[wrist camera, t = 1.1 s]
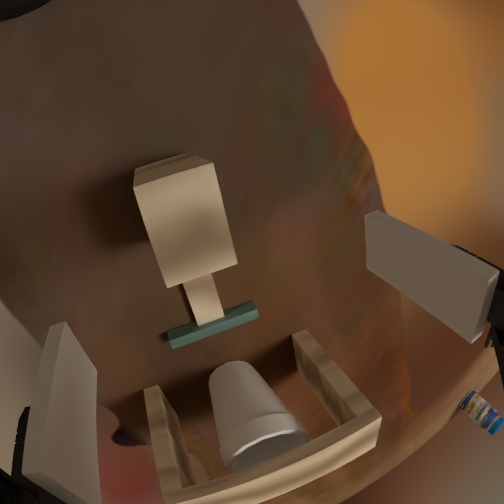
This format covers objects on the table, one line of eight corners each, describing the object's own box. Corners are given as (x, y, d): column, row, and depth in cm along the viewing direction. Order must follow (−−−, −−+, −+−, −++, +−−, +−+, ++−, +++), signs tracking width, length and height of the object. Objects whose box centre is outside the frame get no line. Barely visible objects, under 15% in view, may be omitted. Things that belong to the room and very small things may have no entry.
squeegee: (108, 177, 25) (94, 201, 17) (214, 145, 28) (251, 152, 19) (170, 339, 34) (187, 404, 25) (253, 309, 36) (291, 364, 27)
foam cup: (186, 398, 38) (212, 479, 26) (212, 345, 36) (250, 430, 25) (247, 404, 42) (284, 475, 31) (277, 357, 40) (326, 428, 29)
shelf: (143, 388, 35) (165, 505, 20) (305, 328, 40) (382, 416, 26) (164, 419, 38) (191, 523, 24) (309, 364, 43) (374, 446, 29)
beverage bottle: (458, 409, 88) (490, 439, 70) (458, 403, 83) (492, 435, 66) (473, 393, 88) (505, 422, 70) (473, 386, 84) (508, 416, 66)
